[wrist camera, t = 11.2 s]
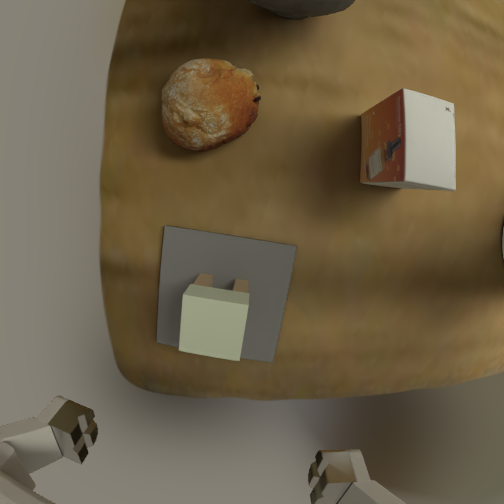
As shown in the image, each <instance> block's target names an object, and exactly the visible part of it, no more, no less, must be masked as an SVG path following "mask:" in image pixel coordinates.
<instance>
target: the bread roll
mask: <svg viewBox="0 0 504 504" xmlns="http://www.w3.org/2000/svg"><path fill="white" fill-rule="evenodd" d="M252 79H253V74H252V72H250V70H247V69H245V68H244V69H239V68H236V66H233V65H232V64H231V63H230V62H228V61H226V60H218V59H211V58H201V59H193V60H190V61H188V62H186V63H183V64H182V65H180V66H179V67H178V68H177V69H176V70H175V71H174V72H173V73H172V75H171V76H170V77H169V80H168V81H167V83H166V84H165V86H164V88H163V89H162V99H161V100H162V125H163V128H164V131H165V133H166V134H167V136H168V137H169V138H170V139H171V140H172V141H173V142H174V143H175V144H177V145H179V146H180V147H183V148H185V149H189V150H195V151H202V150H209V149H213V148H215V147H216V146H220V145H221V144H224V143H228V142H229V141H231V140H233V139H235V138H237V137H239V136H240V135H242V134H243V133H245V132H246V131H247V130H248V129H249V128H250V126H251V124H252V123H253V122H254V121H255V119H256V117H257V112H258V104H259V100H260V99H261V97H260V94H259V92H258V90H259V86H258V85H257V84H256V82H253V81H252Z"/></svg>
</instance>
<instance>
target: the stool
mask: <svg viewBox="0 0 504 504" xmlns="http://www.w3.org/2000/svg"><path fill="white" fill-rule="evenodd" d="M212 281H213V275H210V274H204V273H200V274H199V276H198V277H197V279H196V280H195V282H194V283H193V284H190V285H189V287H188V288H187V289H186V291H185V292H184V294H183V300H182V312H181V326H180V341H179V351H183V352H188V353H194V354H199V355H205V356H210V357H216V358H223V359H229V360H235V361H240V355H241V349H242V343H243V337H244V331H245V325H246V319H247V313H248V307H249V293H248V283H249V281H248V280H242V279H235V283H234V288H233V291H231V290H225V289H219V288H212Z"/></svg>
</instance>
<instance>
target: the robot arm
mask: <svg viewBox="0 0 504 504" xmlns="http://www.w3.org/2000/svg"><path fill="white" fill-rule="evenodd" d="M502 249H503V258H504V228H503V237H502ZM94 417H95V415H94V412H93V410H92V409H90V408H87V407H85V406H82V405H80V404H78V403H75V402H73V401H71V400H68V399H66V398H64V397H62V396H57V397H55V398H54V399H53V400H52V401H51V403H50V404H49V405H48V406H47V407H46V408H45V409H44V410H43V412H42V413H41V414H40V415H39V416H38V417H37V418H35V417H32V418H29V419H25V420H21V421H18V422H14V423H10V424H6V425H2V426H0V504H55V503H53V502H52V501H50V500H48V499H46V498H44V497H43V496H41V495H39V494H37V493H36V492H34V491H33V489H34V488H35V483H34V481H33V480H32V478H31V477H30V475H29V474H30V473H32V472H34V471H36V470H38V469H40V468H42V467H45V466H47V465H49V464H51V463H53V462H55V461H57V460H59V459H61V458H62V457H63V456H64V457H66V458H68V459H70V460H73V461H75V462H77V463H80V464H82V463H83V461H84V460H85V458H86V456H87V455H88V449H87V448H88V447H90V446H93V445H94V443H95V441H96V438H97V435H98V428H97V424H96V423H95V422H94V420H93V418H94ZM315 458H316V461H315V462H314V463H312V464H311V466H310V469H309V474H308V483H309V486H310V487H311V488H312V489H313V490H312V492H311V494H310V499H311V504H406V503H404V502H403V501H402V500H400V499H399V498H397V497H396V496H394V495H393V494H392V493H390V492H389V491H388V490H386V489H385V488H384V487H382V486H381V485H380V484H378V483H377V482H376V481H374V480H373V481H371V480H370V477H369V474H368V472H367V468H366V465H365V463H364V460H363V457H362V454H361V451H360V450H359V449H353V450H319V451H318V452H317V454H316V456H315Z"/></svg>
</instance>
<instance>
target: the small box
mask: <svg viewBox="0 0 504 504" xmlns="http://www.w3.org/2000/svg"><path fill="white" fill-rule="evenodd" d="M361 125H362V145H361V174H360V182H361V183H363V184H370V185H378V186H386V187H394V188H401V189H424V190H445V191H455V190H456V146H455V120H454V104H453V103H450V102H447V101H444V100H441V99H438V98H435V97H432V96H429V95H426V94H422V93H419V92H415V91H412V90H408V89H404V88H402V89H401V90H399V91H397V92H396V93H394V94H392V95H391V96H389V97H388V98H386V99H384V100H383V101H381V102H380V103H378V104H376V105H375V106H373V107H372V108H370V109H369V110H367V111H365V112H364V113H362V114H361Z"/></svg>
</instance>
